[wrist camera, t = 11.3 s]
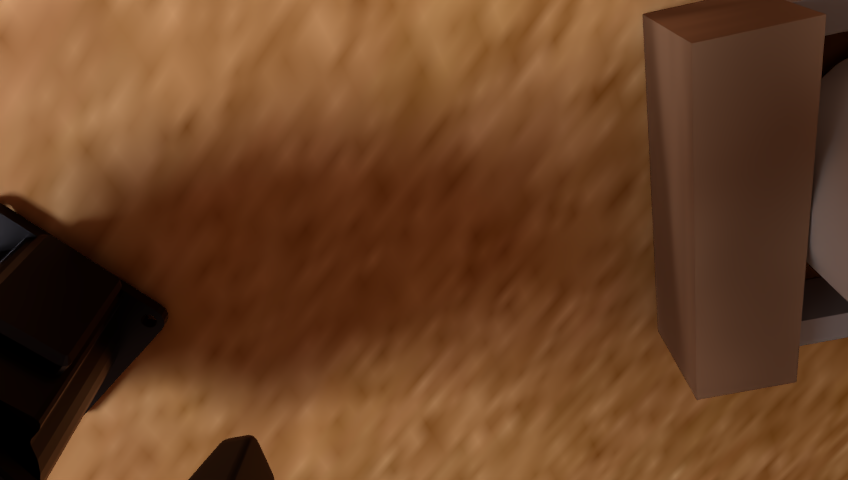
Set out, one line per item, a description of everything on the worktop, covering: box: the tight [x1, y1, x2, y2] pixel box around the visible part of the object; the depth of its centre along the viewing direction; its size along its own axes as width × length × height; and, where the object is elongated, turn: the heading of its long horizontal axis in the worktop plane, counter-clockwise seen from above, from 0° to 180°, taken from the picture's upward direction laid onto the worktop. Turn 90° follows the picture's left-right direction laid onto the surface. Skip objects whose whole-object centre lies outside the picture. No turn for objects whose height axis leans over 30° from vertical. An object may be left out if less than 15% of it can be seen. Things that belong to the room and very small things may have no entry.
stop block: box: [643, 0, 826, 400], centre depth 19 cm, size 3×11×4 cm, turn 12°
